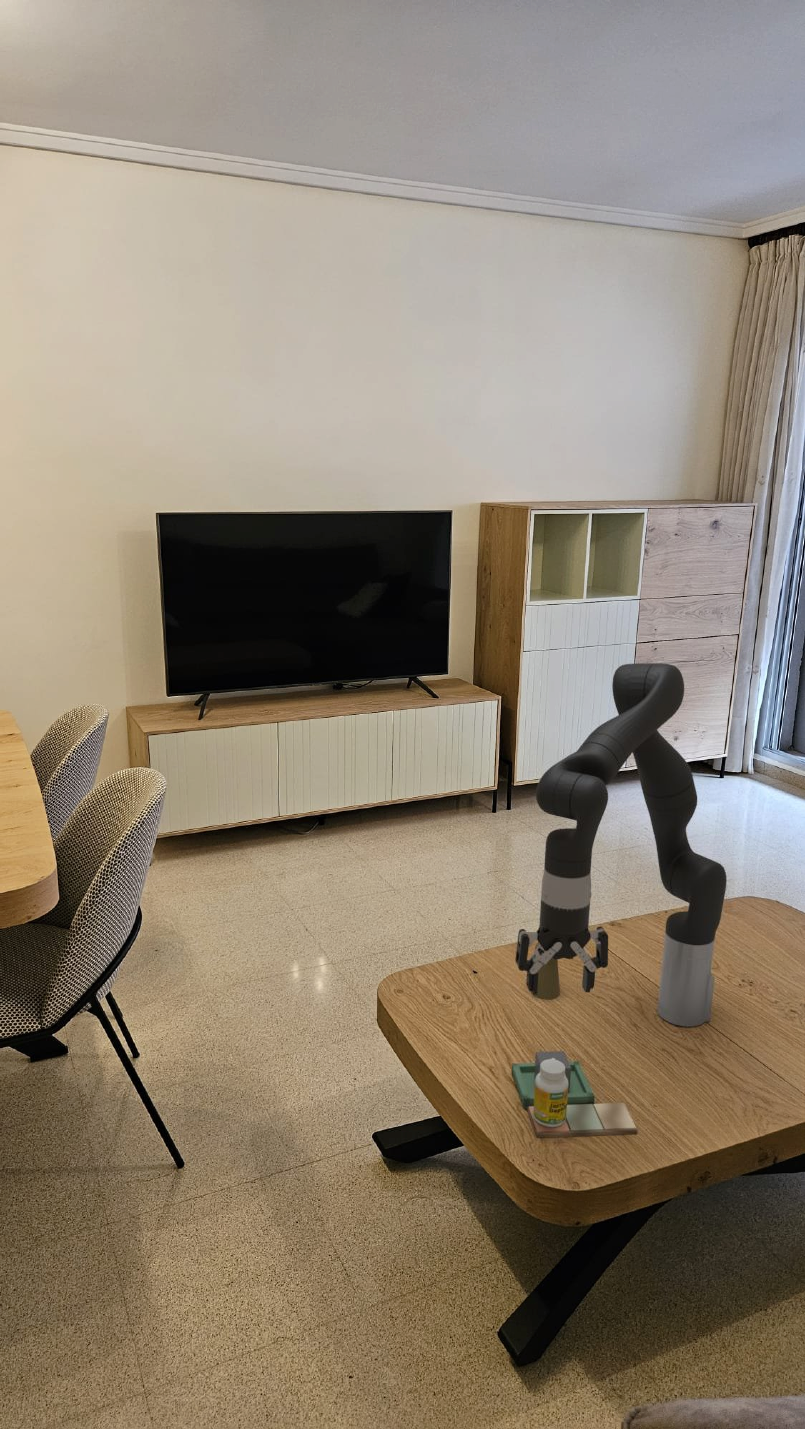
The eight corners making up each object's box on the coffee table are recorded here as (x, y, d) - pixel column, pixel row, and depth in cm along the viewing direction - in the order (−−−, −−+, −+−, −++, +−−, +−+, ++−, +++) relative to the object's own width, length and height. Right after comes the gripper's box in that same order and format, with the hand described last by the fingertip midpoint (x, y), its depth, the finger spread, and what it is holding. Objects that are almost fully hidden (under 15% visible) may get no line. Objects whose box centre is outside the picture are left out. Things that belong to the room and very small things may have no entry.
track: (623, 1106, 165) (624, 1101, 165) (637, 1133, 159) (637, 1128, 158) (527, 1109, 164) (527, 1105, 163) (536, 1137, 157) (537, 1132, 157)
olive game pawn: (526, 995, 199) (529, 946, 197) (534, 981, 205) (537, 933, 202) (556, 1002, 197) (559, 952, 195) (563, 988, 203) (566, 939, 200)
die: (563, 1076, 172) (565, 1049, 171) (571, 1094, 167) (573, 1067, 166) (534, 1077, 172) (535, 1050, 170) (540, 1095, 166) (542, 1068, 165)
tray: (577, 1070, 175) (578, 1061, 174) (593, 1105, 165) (594, 1096, 165) (511, 1072, 174) (512, 1063, 173) (523, 1108, 164) (524, 1098, 164)
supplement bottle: (550, 1103, 164) (554, 1052, 162) (573, 1121, 160) (577, 1069, 157) (526, 1114, 161) (529, 1062, 159) (547, 1132, 157) (551, 1079, 154)
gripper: (603, 885, 156) (596, 977, 160) (515, 887, 155) (510, 980, 159) (618, 905, 149) (610, 1001, 153) (525, 908, 147) (520, 1005, 151)
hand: (559, 990), depth 156 cm, fingers open, 8 cm apart
